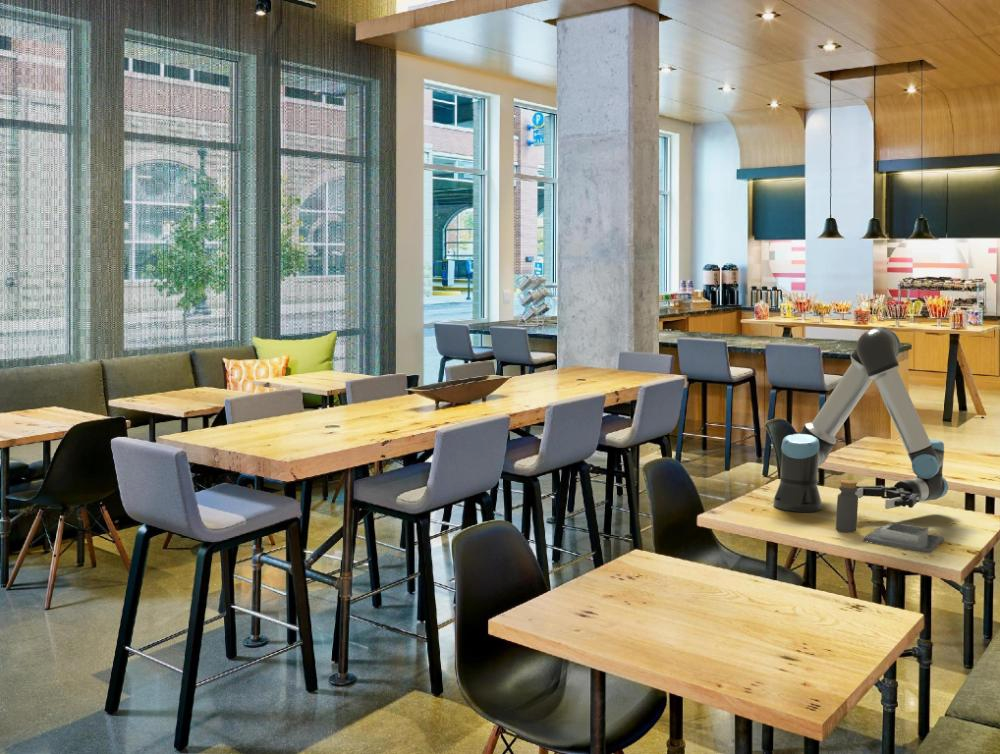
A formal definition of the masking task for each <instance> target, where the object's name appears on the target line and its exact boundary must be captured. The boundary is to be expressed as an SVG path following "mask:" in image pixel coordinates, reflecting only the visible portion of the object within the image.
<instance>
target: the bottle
mask: <svg viewBox="0 0 1000 754" xmlns="http://www.w3.org/2000/svg"><path fill="white" fill-rule="evenodd" d="M857 485H858V482H857V480H852V479H851V480H850V479H841V480H840V486H839V488H838V489H839V490H840V493H839V494H837V502H836V518H835V519H836V520H835V530H836V531H838V532H841V533H848V532H852V533H855V531H856V532H857V525H858V510H859V509H858V506H859V498H858V496H857V495H856V494H855V492H857V487H856V486H857Z"/></svg>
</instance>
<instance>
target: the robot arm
mask: <svg viewBox="0 0 1000 754" xmlns="http://www.w3.org/2000/svg"><path fill="white" fill-rule="evenodd" d="M900 350H901V342H900V339H899V336H898V335H897V334H896V333H895V331H893V330H891V329H889V328H887V327H883V326H882V327H881V326H880V327H879V326H877V327H873V328H872V329H870V330H867V331H865V332H863V334H861V336H860V337H859V338H858V340H857V342H856V347H855V349H854V350H853V352H852V353H851V355H850V360H851V363H850V365H849V366H848V368H847V369H846V371H845V372H844V374H843V375H842V377H841V379H840V380H839V381H838V383H837V384H836V386H835V387H834V389H833V390H832V392H831V394H830V395H829V396H828V397H827V399H826V401H825V402H824V403H823V405H822V407H821V409H820V410H819V411H818V413H817V414H816V416H815V418H814V419H813V420H812V421H811V422H806V423H805V424H804V425H803V427H802V428H801V429H800V432H799V433H793V434H788V435H786V436H784V437H783V439H782V442H781V447H780V449H781V458H780V481H779V484H778V487H777V490H776V493H775V495H774V497H773V507H775V508H777V509H779V510H783V511H788V512H795V513H814V512H819V511H821V510H822V504H823V503H822V498H821V495H820V491H819V487H818V476H819V475H818V474H819V472H818V471H819V466H821V465H822V464H823V463H825V462H826V460H827V459H828V458H829V455H830V453H831V451H832V450H833V448H834V447H835V445H836V444H837V439H836V435H837V434H838V432H839V431H840V429H841V427H842V426H843V425H844V423H845V422H846V420H847V419H848V418H849V416H850V414H851V413H852V412H853V410H854V409H855V407H856V406H857V404H858V402H859V401H860V400H861V398H862V397H863V395H864V394H865V393H866V391H867V390H868V388H869V386H870V385H871V384H872V382H873V381H874V384H875V385H876V387H877V390H878V391H879V394H880V395H881V396H880V397H881V398H882V400H883V403H884V405H885V407H886V409H887V411H888V413H889V416H890V418H891V420H892V422H893V425H894V427H895V429H896V430H897V433H898V435H899V438H900V440H901V442H902V444H903V446H904V449H905V450H906V453H907V455H908V458H909V460H910V462H911V469H912V472H913V473H914V475H916V478H909V479H905V480H900V481H898V482H896V483H895V484H894V485H893V486H885V485H884V484H881V485H856V487H857V492H855V494H856V495H857V496H858V499H862V498H863V497H876V498H877V497H879V498H882V499H884V500H885V504H884V509H886V510H890V509H894V508H900V507H904V508H905V507H908V508H909V509H910V508H912V509H913V507H914V506H915V505H916V504H917V503H922V502H926V501H936V500H937V499H941V498H943V497H944V496H946V495H947V494H948V492H949V491H948V490H949V484H948V482H947V480H946V478H944V476H943V467H944V457H945V456H944V455H945V444H944V442H943V441H942V440H938V439H931V438H929V436H928V434H927V431H926V429H925V427H924V425H923V422H922V420H921V418H920V416H919V414H918V411H917V409H916V407H915V405H914V403H913V401H912V399H911V397H910V394H909V392H908V390H907V388H906V387H907V386H905V383H904V382H903V379H902V377H901V375H900V373H899V367H900V363H899V362H898V359H897V357H898V355H899V353H900Z"/></svg>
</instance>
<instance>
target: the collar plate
mask: <svg viewBox="0 0 1000 754" xmlns="http://www.w3.org/2000/svg"><path fill="white" fill-rule="evenodd" d="M864 541H868V542H867V543H870V542H872V543H871V544H875V543H877V545H881V544H883V545H882V546H886V545H887V547H893V548H897V547H898V548H899V549H904V550H907V551H908V550H909V551H913V552H920V553H924V554H930V553H931V552H932V551H933V550H935V549H936V548H937V547H938V546H940V543H941V544H942V543H943V542H944V541H945V536H939V535H935V534H929V528H928V527H923V526H918V525H917V526H916V525H912V524H911V525H910V524H906V523H905V524H903V523H899V522H893V521H891V522H889V523H888V524H886V525H884V526H881V525H880V526H878V527H877V528H876V529H873V531H871V532H869V533H868V534H866V535H865V536H863V540H862V542H864Z"/></svg>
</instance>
